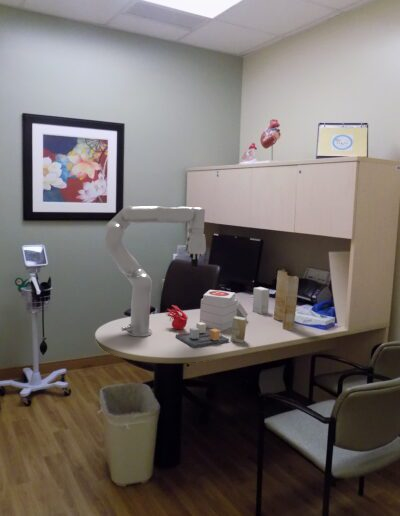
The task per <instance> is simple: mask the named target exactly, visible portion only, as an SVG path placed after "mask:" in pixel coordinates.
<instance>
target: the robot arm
mask: <svg viewBox="0 0 400 516" xmlns="http://www.w3.org/2000/svg"><path fill="white" fill-rule="evenodd" d="M205 218H206V210H205V208H204V207H197V206H196V207H195V206H194V207H193V206H192V207H190V206H184V205H181V206H180V205H179V206H177V207H166V206H160V205H147V206H145V205H143V206H142V205H141V206H133V205H126V206H124V207H122V209H121V210H119V211H118V213H117V214H116V215H115V216H114V217H113V218H112V219H110V220H109V221H108V222H107V224H106V225H105V228H104V230H105V237H104V247H105V249H106V252H107V254H108V256H110V257H111V259H112V261H113V262H114V263H115V264H116V265H117V268H118V270H119V271H120V272H121V273H122V274H123V275H124V277H125V278H126V279H127V280H128V281H129V283H130V284H131V286H132V291H131V301H130V302H131V305H130V307H131V308H130V323H128V325H127V326H122V327H120V328H121V332H125V331H126V332H127V333H126V334H127V335H129V336H132V337H137V338H139V337H141V338H142V337H148V336H151V335H152V334H153V331H152V329H150V317H151V316H150V315H151V314H150V313H151V299H152V298H151V295H152V288H153V281H152V278H151V276H150V275H149V274H148V273H147V272H146V271H145V270H144V269H143V268H142V266H141V265H140V263H139V262H138V261H137V259H136V258H135V257H134V256H133V255H132V254H131V253H130V252H129V250H128V249H127V247H126V246H125V245H124V243H123V238H124V236H125V230H126V229H127V228H128V227H129V226H130V225H132V224H133V225H135V224H136V225H137V224H178V223H179V224H183V223H189V228H188V229H187V233H188V234H187V237H186V241H185V256H188V257H189V258H190V259H191V262H190V266H191V267H192V268H197V267H198V262H199V260H200V257H201V256H204V255H205V253H206V251H207V247H206V246H207V241H206V235H205V234H204V230H205Z"/></svg>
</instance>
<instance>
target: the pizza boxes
mask: <svg viewBox="0 0 400 516" xmlns="http://www.w3.org/2000/svg"><path fill="white" fill-rule="evenodd" d="M235 297H236V292H231V291H225V290H217V289H216V290H215V289H209V290H208V291H206V292H205V293H204V294H203V298H201V299H200V311H199V323H200V322H203V323H205V324H206V328H209V329H217V330H219V331H220V332H222V331H225V330H227V329H230V328H232V324H233V318H234V317H235V316H238V317H243V318H247V317H248V315H249V313H248V312H247V311H246V310H245V308H244V307H243V305H242V304H241V303H240V301H239V300H238V299H236V298H235Z"/></svg>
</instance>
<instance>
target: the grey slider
mask: <svg viewBox="0 0 400 516" xmlns="http://www.w3.org/2000/svg"><path fill="white" fill-rule="evenodd" d="M196 327H197V326H195V327H190V328H189V332H188V333H189V337H190V338H192V339H196V338H199V330H200V329H198V328H196Z"/></svg>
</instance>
